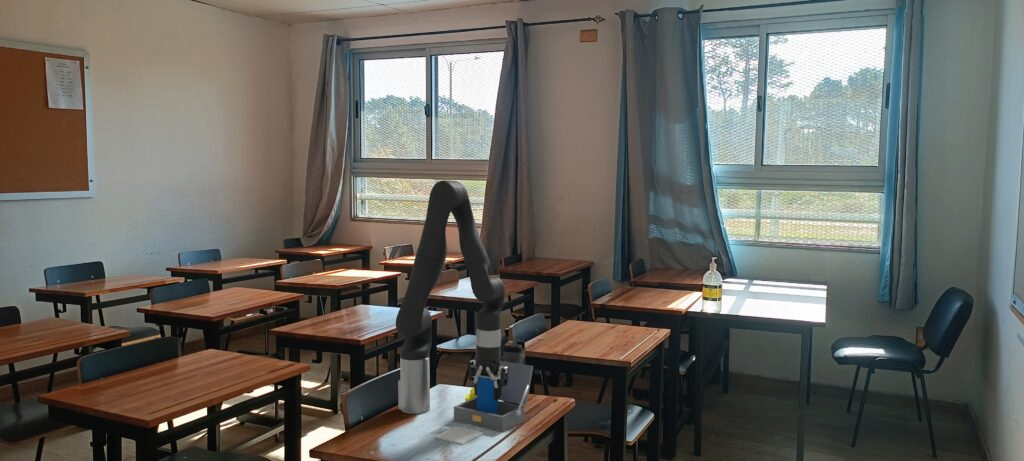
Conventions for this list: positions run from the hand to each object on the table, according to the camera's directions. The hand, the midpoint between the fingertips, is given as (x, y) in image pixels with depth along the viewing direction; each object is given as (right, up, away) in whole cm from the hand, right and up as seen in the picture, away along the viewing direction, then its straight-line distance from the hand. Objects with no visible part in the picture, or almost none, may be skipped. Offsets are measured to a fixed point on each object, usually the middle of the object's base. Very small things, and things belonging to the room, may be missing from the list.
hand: (487, 396), depth 219 cm
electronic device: (+8, -6, +18) cm, 21 cm away
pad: (-8, -8, -12) cm, 17 cm away
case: (+2, -7, +2) cm, 8 cm away
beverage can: (0, -5, 0) cm, 5 cm away
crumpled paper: (-4, -6, +19) cm, 21 cm away
